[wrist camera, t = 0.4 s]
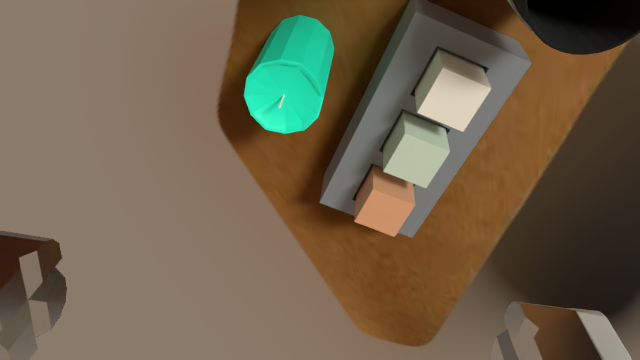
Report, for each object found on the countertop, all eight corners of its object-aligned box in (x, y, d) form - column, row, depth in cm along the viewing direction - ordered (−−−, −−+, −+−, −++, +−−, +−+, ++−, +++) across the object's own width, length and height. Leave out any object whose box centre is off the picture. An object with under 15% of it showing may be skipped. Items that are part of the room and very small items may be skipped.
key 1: (374, 152, 49) (373, 189, 44) (411, 167, 49) (415, 205, 44) (357, 183, 51) (354, 221, 46) (393, 197, 52) (394, 236, 47)
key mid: (402, 100, 45) (405, 133, 40) (443, 117, 46) (450, 151, 41) (383, 136, 48) (383, 171, 43) (421, 151, 48) (426, 188, 43)
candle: (314, 90, 48) (297, 156, 39) (258, 59, 47) (225, 119, 37) (346, 36, 45) (336, 94, 35) (286, 1, 44) (259, 51, 34)
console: (413, -7, 43) (416, 11, 39) (517, 40, 44) (531, 62, 40) (324, 174, 54) (319, 202, 50) (410, 207, 55) (412, 237, 51)
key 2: (436, 39, 42) (442, 67, 37) (478, 58, 43) (491, 88, 38) (413, 81, 44) (417, 112, 39) (454, 98, 45) (463, 131, 40)
